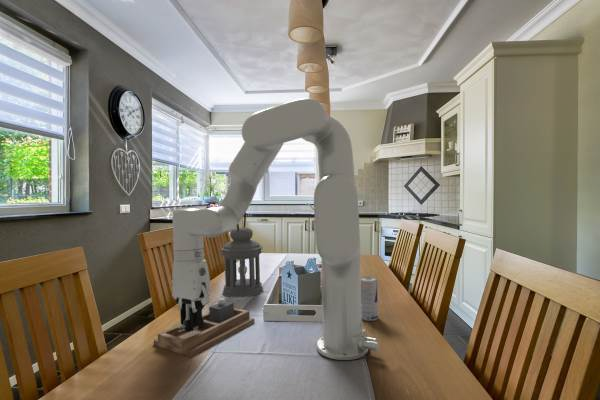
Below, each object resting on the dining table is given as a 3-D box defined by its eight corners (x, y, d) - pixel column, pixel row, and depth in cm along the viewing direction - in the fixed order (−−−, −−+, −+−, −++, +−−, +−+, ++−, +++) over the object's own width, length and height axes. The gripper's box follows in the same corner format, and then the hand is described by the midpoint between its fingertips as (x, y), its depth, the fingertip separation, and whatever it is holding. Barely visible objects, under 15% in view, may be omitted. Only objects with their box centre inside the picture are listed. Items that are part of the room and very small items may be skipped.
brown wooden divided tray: (254, 322, 100) (254, 312, 100) (190, 357, 80) (190, 343, 80) (220, 314, 107) (219, 305, 107) (153, 344, 87) (153, 332, 87)
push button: (182, 336, 85) (181, 297, 84) (174, 330, 89) (173, 292, 89) (207, 329, 89) (206, 292, 89) (199, 323, 93) (198, 288, 93)
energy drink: (379, 316, 103) (378, 277, 103) (375, 322, 98) (375, 281, 98) (362, 314, 105) (361, 276, 105) (358, 320, 100) (357, 280, 100)
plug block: (234, 319, 100) (233, 297, 100) (219, 326, 95) (218, 303, 95) (224, 317, 102) (223, 295, 102) (209, 324, 97) (208, 301, 97)
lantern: (261, 297, 125) (258, 203, 125) (216, 298, 125) (213, 204, 125) (266, 284, 142) (264, 202, 141) (227, 285, 142) (224, 203, 142)
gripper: (222, 255, 87) (224, 324, 88) (179, 251, 96) (182, 314, 96) (199, 260, 81) (202, 335, 81) (156, 255, 89) (159, 323, 90)
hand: (191, 323), depth 89 cm, fingers closed on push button, 3 cm apart
